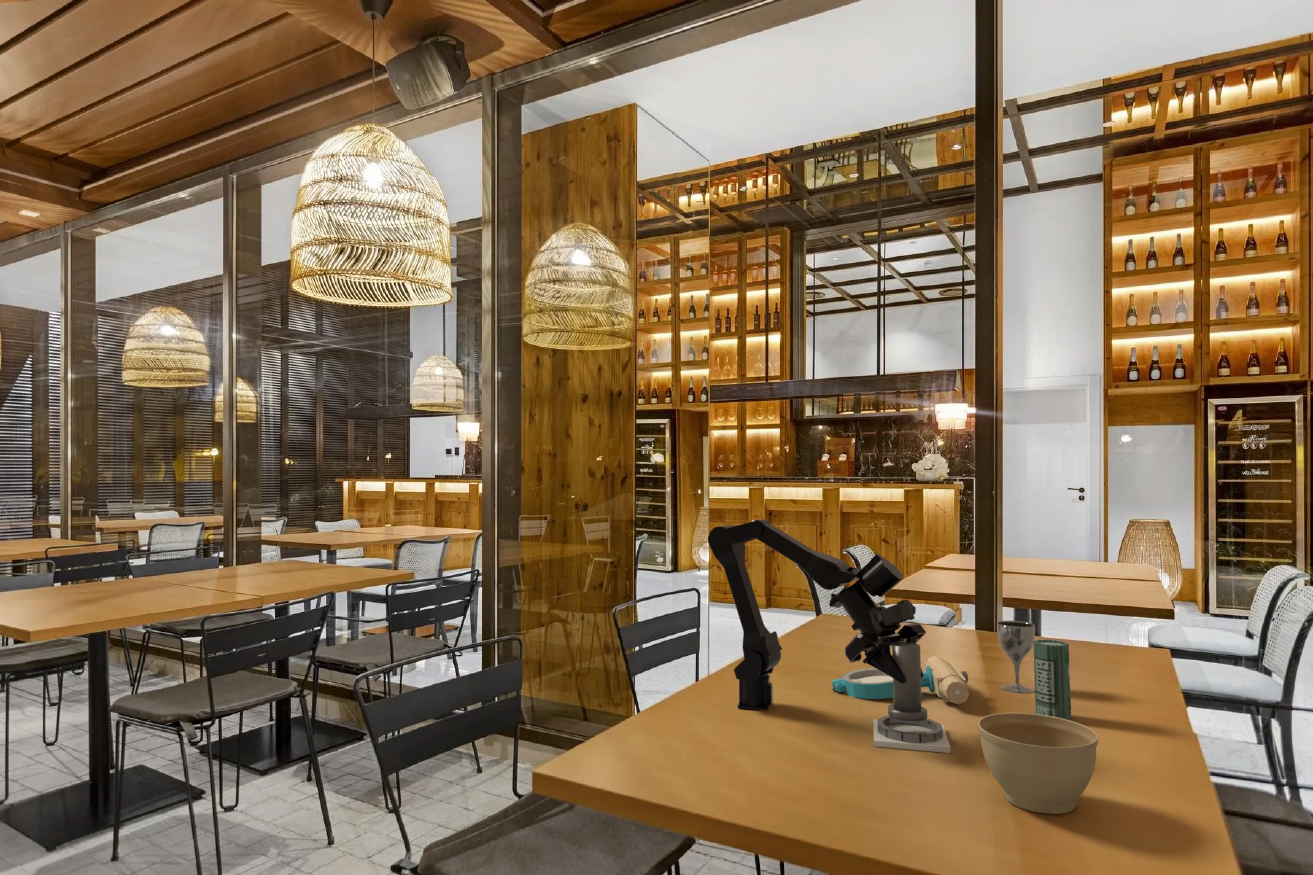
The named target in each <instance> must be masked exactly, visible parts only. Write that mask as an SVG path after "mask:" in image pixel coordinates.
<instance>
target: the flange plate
mask: <svg viewBox="0 0 1313 875" xmlns="http://www.w3.org/2000/svg"><path fill="white" fill-rule="evenodd" d="M872 721H873V723H872V725H873V728H872V729H873V747H879V748H890V749H900V750H911V751H923V752H924V751H925V752H933V753H947V754H951V745H950V743H949V739H948V736H947V733H946V729H945V727H944V724H941V723H940V722H937V721H935V720H933V719H930V718H927V719H925V720H922V721H904V720H899V719H895V718H892V717H891V716H889V715H885V716H882V717H879V718H877V719H874V718H873V720H872Z"/></svg>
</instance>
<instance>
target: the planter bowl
mask: <svg viewBox="0 0 1313 875" xmlns="http://www.w3.org/2000/svg"><path fill="white" fill-rule="evenodd" d="M977 729H978V732H979V736H980V745H981V750H982V754H983V757H984V760H985V763H986V764H987V767H988V769H989V770H990V773H991V774H992V776H993V777H994V779H995V780H996V782H997V783H998V784H999V786H1000V787H1001V789H1002V791H1003V795H1004V798H1005V799H1006V800H1007V801H1008V802H1009V803H1010V804H1012V805H1014V806H1015V807H1017V808H1021V809H1023V810H1025V811H1028V812H1029V811H1030V812H1033V813H1038V814H1047V815H1058V814H1059V815H1060V814H1066V813H1071V811H1073V810H1075V808H1076V805H1077V800H1078V798H1079V797H1080V796H1082V794H1083V793H1084V791H1085V790H1086V789H1087V787H1088V785H1089V783H1090V781H1091V779H1092V777H1093V774H1094V771H1095V767H1096V762H1097V747H1098V743H1099V736H1098V734H1097V733H1096V732H1095V731H1094V730H1093V729H1091V728H1090V727H1087V726H1086V725H1084V724H1082V723H1079V722H1076V721H1073V720H1066V719H1062V718H1057V717H1052V716H1046V715H1039V714H1036V713H1028V712H1027V713H1026V712H1000V713H992V714H988V715H985V716H983V717H981V718H980V719H979V720H978V722H977Z"/></svg>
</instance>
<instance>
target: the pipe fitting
mask: <svg viewBox="0 0 1313 875" xmlns="http://www.w3.org/2000/svg"><path fill="white" fill-rule="evenodd" d="M892 655H893V656H892V657H893V658H894V660H895V661H896V663H897V665H898V666H899V668H900V669H901V671H902V673H903V674H904V676H905V678H906V682H905V683H903V684H902V683H900V682H898V681H897V680H895V679H893V697H892V698H893V699H892V700H893V701H892V702H893V704H889V705H888V706H887V716H891V717H892V718H895V719H899V720H904V721H922V720H925V719H928V709H927V708H925V707H923V706H922V687H921V669H922V666H921V664H922V663H921V661H922V660H921V645H920V644H918V643H916V644H915V643H907V642H897V643H893V644H892Z"/></svg>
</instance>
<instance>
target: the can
mask: <svg viewBox="0 0 1313 875" xmlns="http://www.w3.org/2000/svg"><path fill="white" fill-rule="evenodd" d="M1069 650H1070V646H1069V643H1068V642H1065V641H1061V640H1056V639H1037V640H1036V639H1034V644H1033V663H1034V665H1033V666H1034V667H1033V668H1034V690H1035V692H1034V695H1035V696H1034V697H1035V714H1039V715H1046V716H1052V717H1057V718H1062V719H1066V720H1070V721H1072V705H1071V703H1072V699H1071V675H1070V651H1069Z"/></svg>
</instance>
